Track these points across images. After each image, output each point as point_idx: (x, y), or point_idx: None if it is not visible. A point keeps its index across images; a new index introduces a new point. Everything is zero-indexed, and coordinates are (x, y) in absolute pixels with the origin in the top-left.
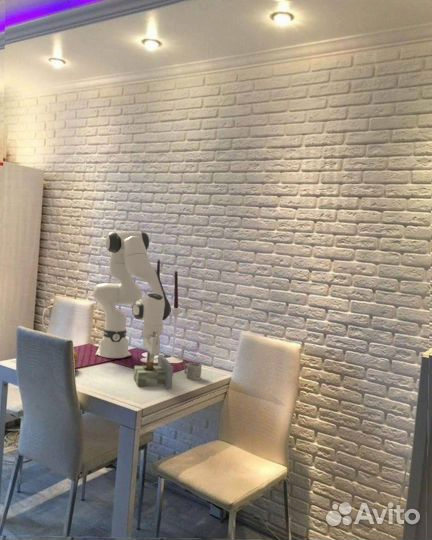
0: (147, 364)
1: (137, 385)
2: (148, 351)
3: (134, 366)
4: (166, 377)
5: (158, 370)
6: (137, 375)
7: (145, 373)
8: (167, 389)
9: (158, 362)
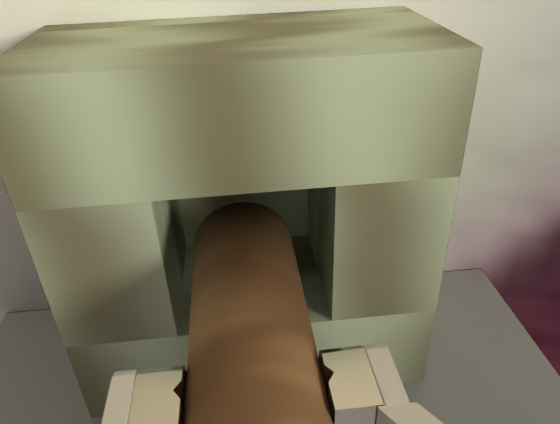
0: (214, 287)
1: (64, 26)
2: None
3: (459, 46)
4: (37, 391)
5: None
6: (96, 52)
7: (10, 191)
8: (6, 317)
9: (521, 383)
